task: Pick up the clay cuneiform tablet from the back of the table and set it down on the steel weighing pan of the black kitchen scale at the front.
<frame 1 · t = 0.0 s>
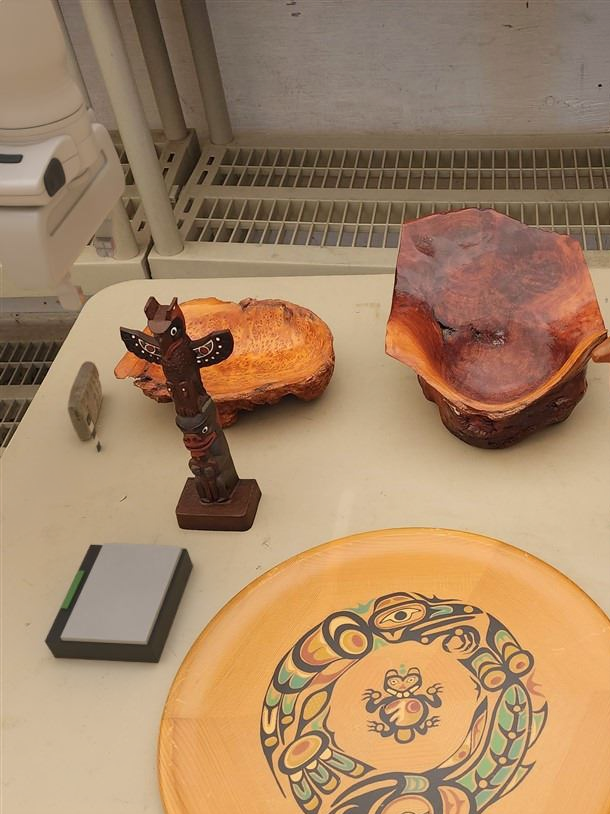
hand: (92, 278, 86), 29 cm above the table, tool pointing down, fingers open, 8 cm apart
scale: (127, 609, 94), on the table
cuneiform tablet: (95, 423, 115), on the table
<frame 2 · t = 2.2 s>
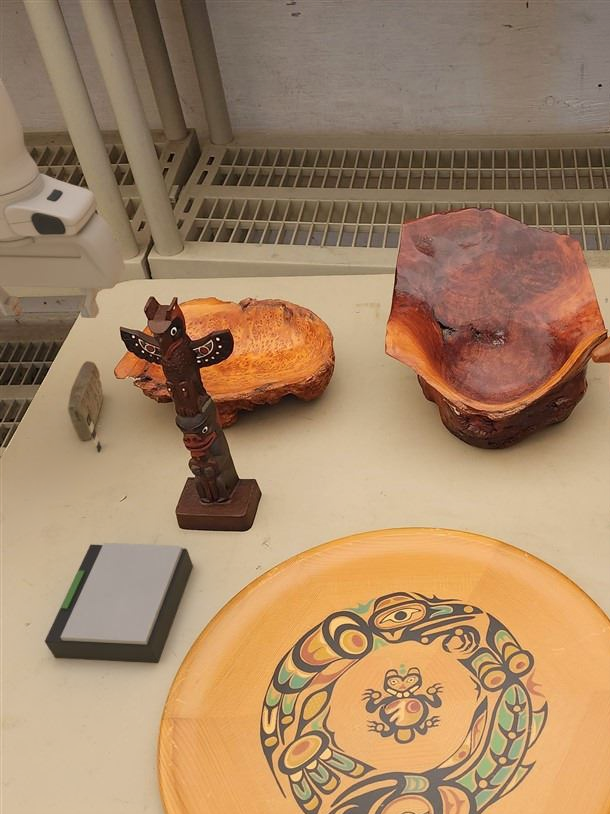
hand: (52, 314, 102), 17 cm above the table, tool pointing down, fingers open, 8 cm apart
nothing on the table moved.
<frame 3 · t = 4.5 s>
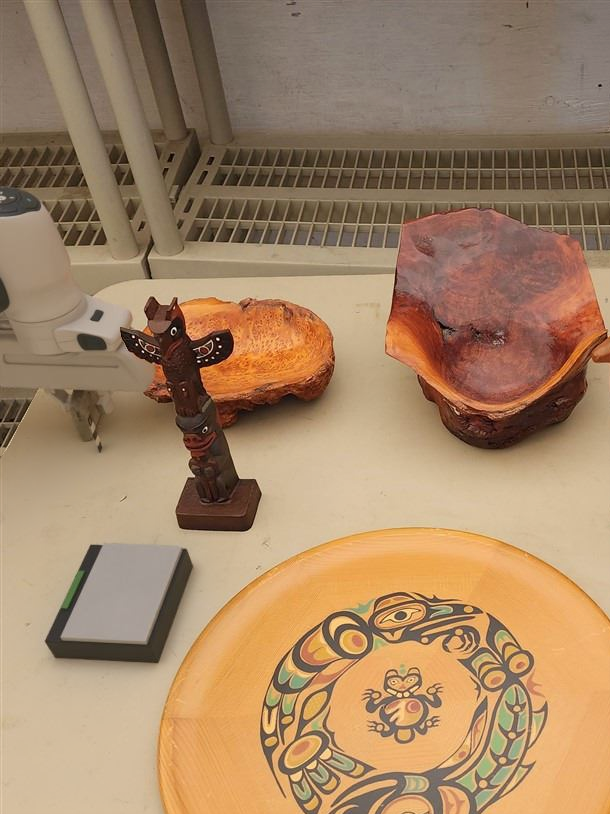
hand: (89, 410, 114), 2 cm above the table, tool pointing down, fingers closed on cuneiform tablet, 3 cm apart
cuneiform tablet: (97, 423, 115), on the table, touching gripper
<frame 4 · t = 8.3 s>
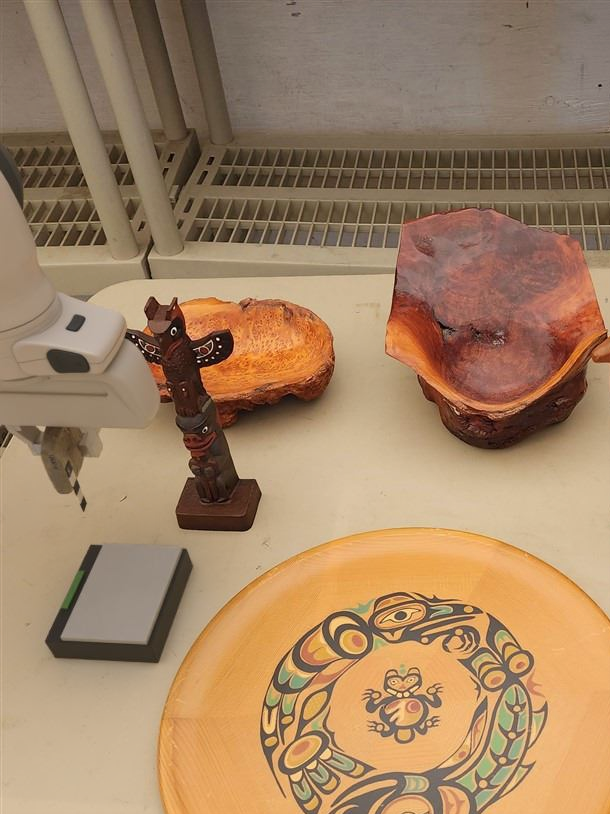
hand: (69, 452, 83), 19 cm above the table, tool pointing down, fingers closed on cuneiform tablet, 3 cm apart
cuneiform tablet: (81, 469, 84), point 17 cm above the table, touching gripper
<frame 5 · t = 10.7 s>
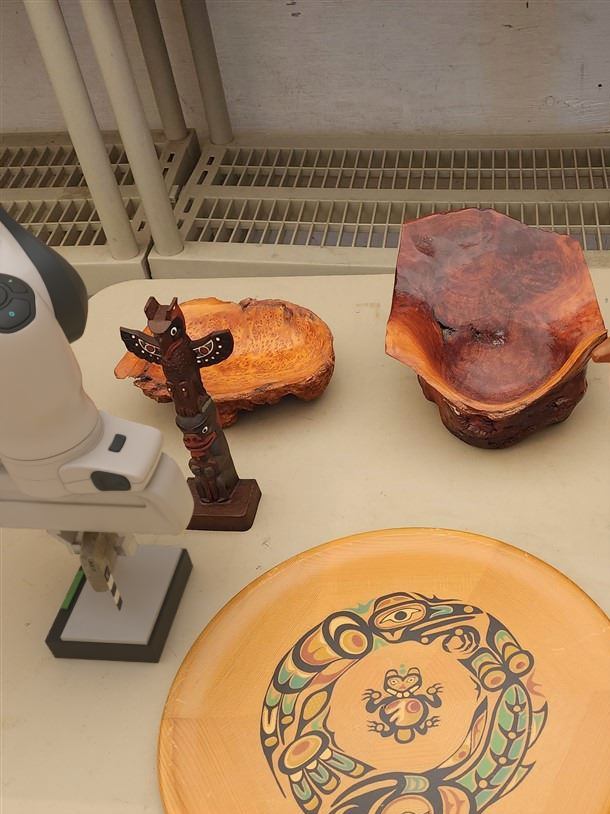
hand: (105, 550, 87), 10 cm above the table, tool pointing down, fingers closed on cuneiform tablet, 3 cm apart
cuneiform tablet: (115, 565, 88), point 8 cm above the table, touching gripper
when the fingers open (6 cm above the table, at t = 12.1 s): cuneiform tablet stays where it is, resting on scale.
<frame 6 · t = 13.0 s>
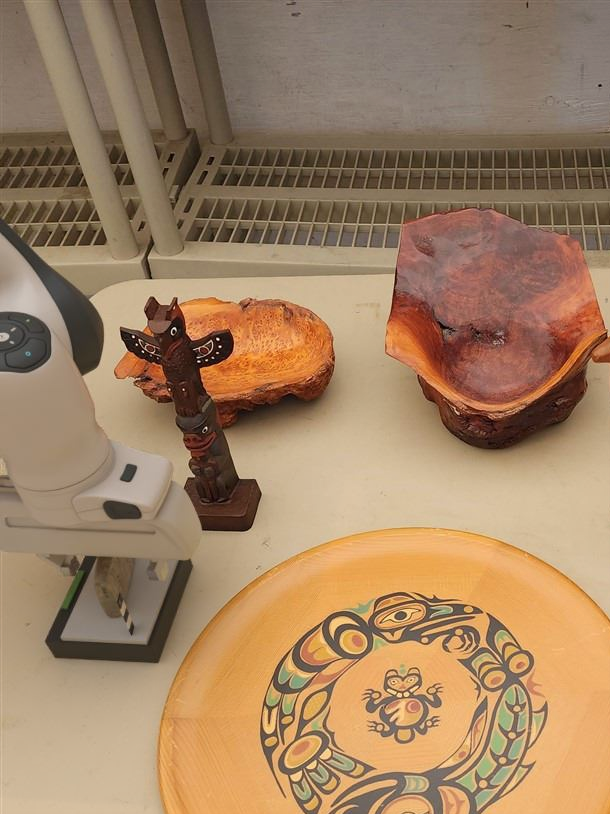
hand: (115, 573, 89), 6 cm above the table, tool pointing down, fingers open, 8 cm apart
cuneiform tablet: (127, 590, 91), point 3 cm above the table, touching scale
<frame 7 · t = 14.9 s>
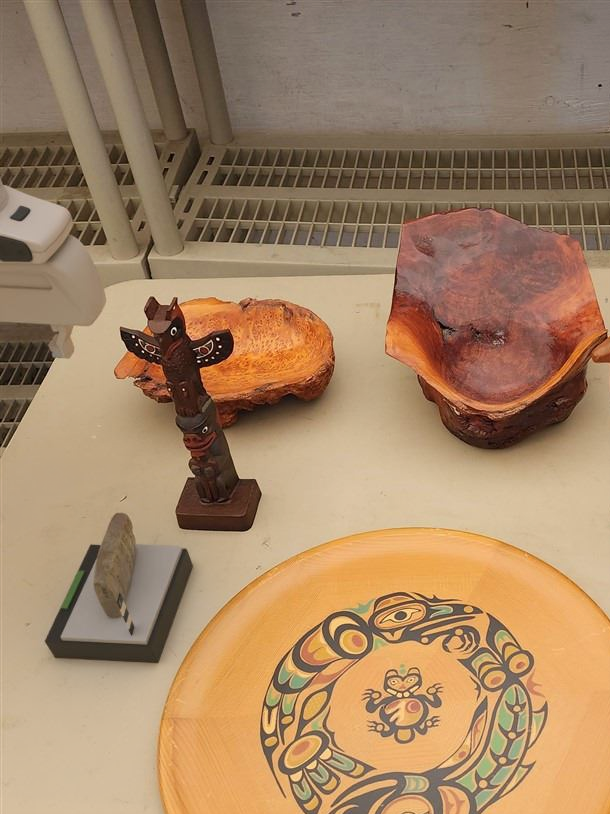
hand: (17, 352, 85), 25 cm above the table, tool pointing down, fingers open, 8 cm apart
nothing on the table moved.
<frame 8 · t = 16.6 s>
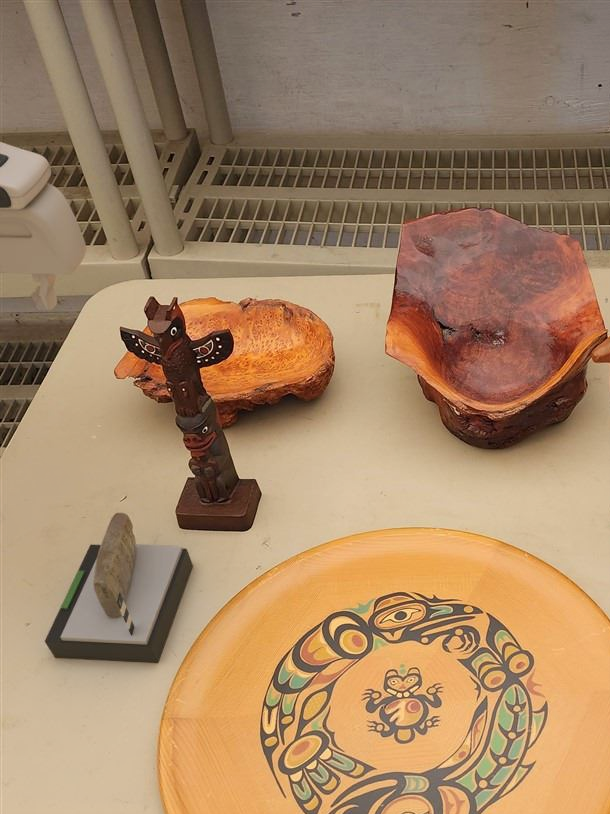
hand: (1, 305, 86), 27 cm above the table, tool pointing down, fingers open, 8 cm apart
nothing on the table moved.
at the end: cuneiform tablet inside the target area on the scale (0.4 cm from its centre), point 3.4 cm above the scale's base; cuneiform tablet tilted 2°; the gripper is holding nothing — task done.
